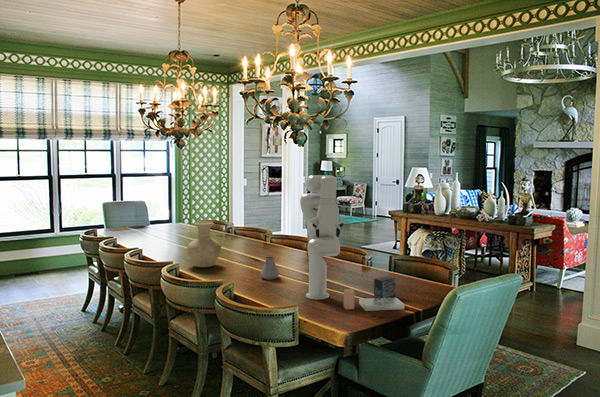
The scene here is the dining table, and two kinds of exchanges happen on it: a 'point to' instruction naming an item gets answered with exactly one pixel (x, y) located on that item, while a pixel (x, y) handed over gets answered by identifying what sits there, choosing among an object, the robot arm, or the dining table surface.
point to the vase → (204, 247)
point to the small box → (384, 287)
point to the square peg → (349, 298)
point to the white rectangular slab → (381, 304)
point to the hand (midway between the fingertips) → (327, 236)
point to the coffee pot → (268, 268)
